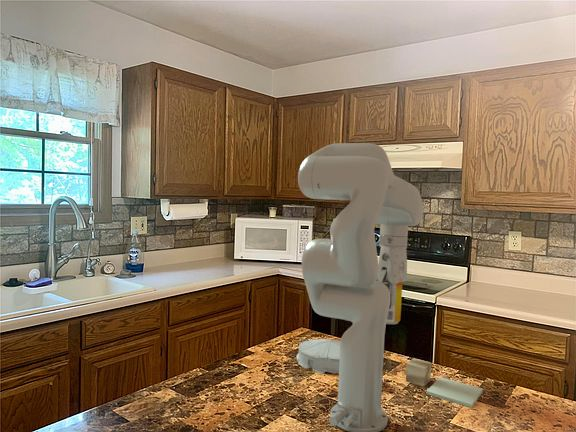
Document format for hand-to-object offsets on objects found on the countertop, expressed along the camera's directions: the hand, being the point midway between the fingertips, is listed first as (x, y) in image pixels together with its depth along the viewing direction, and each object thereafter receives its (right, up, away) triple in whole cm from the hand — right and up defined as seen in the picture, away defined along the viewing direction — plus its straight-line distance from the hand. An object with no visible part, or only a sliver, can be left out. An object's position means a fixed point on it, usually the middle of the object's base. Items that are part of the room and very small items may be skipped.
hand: (389, 305), depth 123 cm
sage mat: (+14, -20, -10) cm, 27 cm away
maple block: (+7, -20, -4) cm, 21 cm away
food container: (-16, -19, +9) cm, 26 cm away
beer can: (0, -5, 0) cm, 5 cm away
